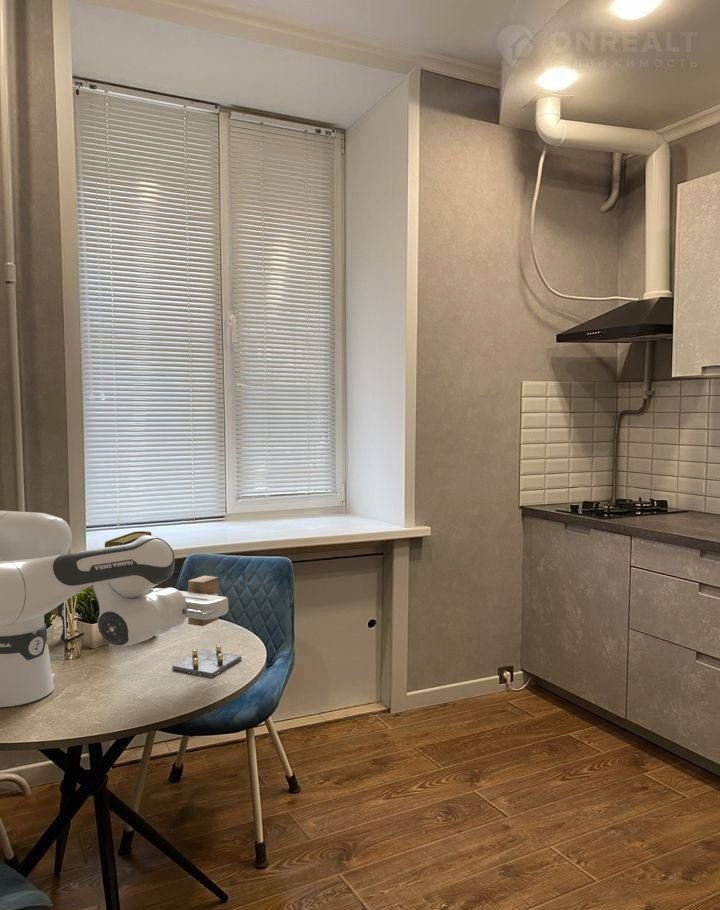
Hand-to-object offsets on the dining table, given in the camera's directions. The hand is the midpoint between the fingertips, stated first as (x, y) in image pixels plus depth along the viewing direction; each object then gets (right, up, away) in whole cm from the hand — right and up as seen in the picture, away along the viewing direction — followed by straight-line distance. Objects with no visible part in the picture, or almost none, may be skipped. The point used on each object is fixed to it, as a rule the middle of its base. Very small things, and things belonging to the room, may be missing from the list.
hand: (205, 595), depth 161 cm
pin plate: (0, -17, +3) cm, 18 cm away
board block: (0, -6, -1) cm, 6 cm away
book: (-28, -15, +33) cm, 46 cm away
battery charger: (-41, -16, +23) cm, 50 cm away
